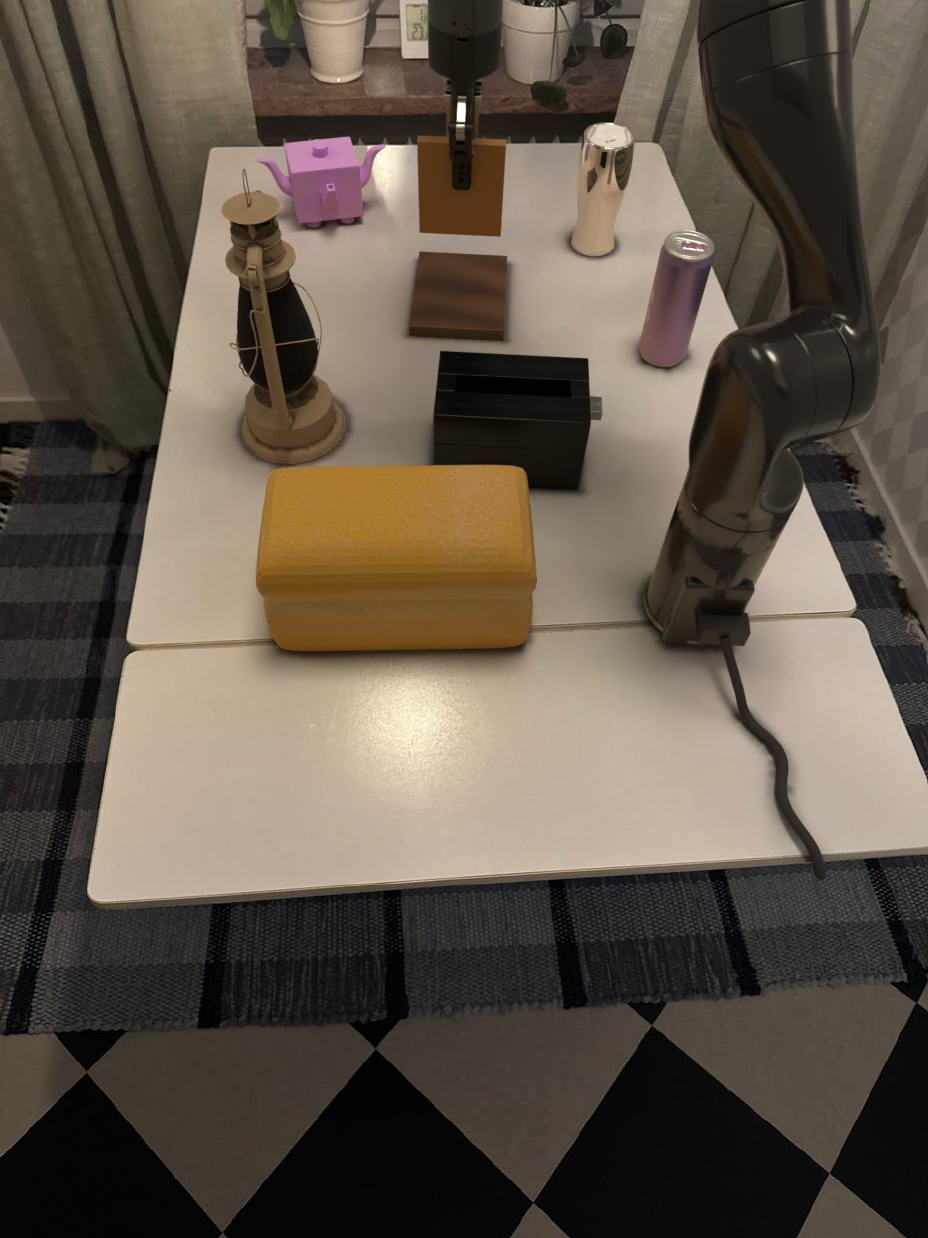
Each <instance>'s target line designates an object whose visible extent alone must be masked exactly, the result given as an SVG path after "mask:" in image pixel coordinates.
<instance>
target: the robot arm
mask: <svg viewBox="0 0 928 1238" xmlns="http://www.w3.org/2000/svg"><path fill="white" fill-rule="evenodd" d="M696 7H697V8H696V21H695V22H696V24H695V25H696V43H697V44H696V45H697V47H698V48H697V55H698V64H699V73H700V74H699V76H700V85H701V93H702V99H703V100H702V103H703V104H702V105H703V111H704V117H705V118H704V119H705V122H706V126H707V129H708V132H709V135H710V137H711V140H712V141H713V143H714V146H715V148H716V150H717V151H718V153H719V155H720V156H721V158H722V159H723V161H724V162H725V164H726V165H727V167H728V169H729V170H730V172H731V174H732V175H733V177H734V178H735V179H736V181H737V182H738V184H739V185H740V187H741V188H742V189H743V190H744V192H745V193H746V195H747V196H748V198H749V199H750V200H751V202H752V203H753V205H754V206H755V207H756V209H757V210H758V212H759V213H760V214H761V216H762V218H763V219H764V221H765V223H766V224H767V226H768V228H769V230H770V232H771V234H772V236H773V239H774V241H775V243H776V246H777V249H778V253H779V256H780V259H781V264H782V270H783V275H784V281H785V288H786V289H785V290H786V298H787V315H785V316H782V317H779V318H774V319H770V320H767V321H766V320H765V321H762V322H759V323H755V324H751V325H747V326H743V327H740V328H738V329H735V330H732V331H731V332H729V333H728V334H727V335H725V337H723V338H722V339H721V341H720V342H719V343H718V345H717V347H716V348H715V350H714V351H713V354H712V355H711V358H710V359H709V363H708V366H707V368H706V372H705V375H704V378H703V382H702V386H701V389H700V394H699V398H698V401H697V407H696V412H695V414H694V418H693V423H692V426H691V429H690V435H689V440H688V468H687V472H686V475H685V478H684V480H683V481H684V482H683V484H682V487H681V490H680V493H679V495H678V499H677V502H676V505H675V507H674V510H673V513H672V516H671V519H670V521H669V523H668V524H669V525H668V528H667V530H666V533H665V537H664V539H663V542H662V545H661V548H660V551H659V553H658V556H657V559H656V563H655V566H654V568H653V572H652V575H651V578H650V581H649V582H648V584H647V587H646V589H645V593H644V599H643V604H644V609H645V612H646V615H647V617H648V619H649V620H650V623H652V625H653V626H654V627H655V629H657V630H658V631H659V632H660V633H661V634H662V641H663V643H665V644H674V645H688V646H707V647H708V646H709V647H721V651H722V654H723V658H724V662H725V665H726V668H727V672H728V675H729V678H730V682H731V685H732V689H733V692H734V693H733V694H734V697H735V702H736V707H737V710H738V713H739V715H740V717H741V719H742V721H743V722H744V724H745V725H746V727H748V728H749V730H750V731H751V732H752V733H753V734H755V735H756V736H757V737H758V738H759V739H760V740H761V741H763V742H764V743H765V744H766V745H767V746H768V747H769V748H770V749H771V751H772V753H773V754H774V756H775V760H776V763H777V764H776V765H777V772H776V779H775V780H776V782H775V795H776V800H777V802H778V806H779V809H780V811H781V813H782V814H783V815H782V816H784V818H785V820H786V821H787V823H788V824H789V826H790V827H791V828H792V830H793V832H795V834H796V835H797V836H798V838H799V839H800V840H801V842H802V844H803V845H804V848H806V851H807V852H808V855H809V857H810V860H811V864H812V869H813V875H814V877H815V878H816V879H818V881H824V880H825V879H826V868H825V860H824V858H823V854H822V852H821V849H820V848H819V845H818V844H817V842H816V840H815V839H814V837H813V835H812V834H811V833H810V831H809V830H808V829H807V827H806V826H805V825H804V823H803V822H802V820H801V819H800V818H799V817H798V815H797V814H796V812H795V811H794V809H793V807H792V804H791V801H790V799H789V795H788V779H789V771H790V770H789V766H790V765H789V759H788V756H787V753H786V751H785V749H784V747H783V746H782V745H781V743H780V741H779V740H778V739H777V738H775V736H774V735H772V733H770V732H769V731H768V730H767V729H765V728H764V727H763V726H762V725H761V724H760V723H759V722H758V721H757V719H756V718H754V716H753V715H752V713H751V711H750V708H749V706H748V705H749V704H748V702H747V698H746V697H747V696H746V693H745V688H744V685H743V681H742V678H741V674H740V671H739V667H738V664H737V661H736V657H735V654H734V650H733V647H744V646H746V643H747V641H748V640H749V637H750V636H751V634H752V630H751V626H750V619H749V613H748V612H746V609H747V607H748V605H749V603H750V601H751V599H752V597H753V596H754V594H755V591H756V588H755V586H756V584H757V582H758V580H759V578H760V576H761V574H762V573H763V571H764V569H765V566H766V565H767V562H768V560H769V559H770V557H771V555H772V552H773V551H774V549H775V547H776V545H777V543H778V541H779V539H780V537H781V535H782V534H783V532H784V529H785V528H786V526H787V524H788V522H789V520H790V519H791V516H792V514H793V513H794V511H795V509H796V507H797V505H798V503H799V502H800V499H801V495H802V494H803V491H804V485H805V476H804V471H803V468H802V466H801V464H800V462H799V460H798V459H797V457H796V456H795V455H794V454H793V452H792V451H791V450H790V449H792V448H796V447H799V446H802V445H805V444H809V443H813V442H816V441H819V440H822V439H826V438H830V437H832V436H835V435H838V434H839V435H840V434H842V433H845V432H847V431H850V430H852V429H854V428H856V427H858V426H859V425H860V424H862V422H864V421H865V420H866V419H867V418H868V416H869V415H870V414H871V412H872V410H873V409H874V406H875V403H876V402H877V401H876V400H877V397H878V396H879V395H878V394H879V391H880V383H881V373H882V372H881V371H882V356H881V342H880V335H879V328H878V319H877V314H876V313H877V312H876V306H875V300H874V294H873V286H872V280H871V274H870V267H869V261H868V255H867V254H868V253H867V247H866V239H865V234H864V233H865V232H864V226H863V220H862V219H863V218H862V217H863V216H862V209H861V207H862V206H861V198H860V197H861V195H860V183H859V172H858V171H859V170H858V157H857V144H856V130H855V114H854V113H855V112H854V66H853V65H854V63H853V62H854V61H853V59H854V58H853V57H854V55H853V36H852V35H853V33H852V13H851V0H697V6H696ZM503 10H504V0H427V50H428V51H427V55H428V59H427V60H428V64H429V67H430V68H431V70H432V71H433V72H434V73H435V74H436V75H438V76H439V77H440V76H441V77H445V78H446V80H445V89H444V96H443V97H444V99H443V100H444V101H443V103H444V110H445V111H446V137H449V148H450V152H449V157H450V161H452V187H453V189H455V190H469V189H470V188H471V172H472V159H473V156H474V150H473V140H474V139H476V138H478V135H479V123H480V112H481V109H482V98H483V83H484V82H483V80H482V79H486V78H488V77H490V76H492V75H493V74H495V73H496V72H497V70H498V69H499V67H500V65H501V55H502V54H501V51H502V50H501V49H502V33H503V32H502V30H503V15H504V14H503V13H504V12H503ZM732 646H733V647H732Z"/></svg>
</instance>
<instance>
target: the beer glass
mask: <svg viewBox="0 0 928 1238" xmlns="http://www.w3.org/2000/svg"><path fill="white" fill-rule="evenodd" d="M581 142H582V143H581V147H580V151H579V156H578V163H577V172H576V200H577V203H576V204H577V217H576V224H575V227H574V230H573V233H572V235H571V240H570V244H571V247H572V248H573V249H574V251H576V252H577V253H579V254H581V255H583V256H587V257H603V256H605V255H608V254H610V253H611V252H612V251H613V249H614V247H615V226H616V220H617V218H618V214H619V211H620V209H621V205H622V203H623V201H624V198H625V195H626V192H627V189H628V186H629V183H630V178H631V173H632V169H633V161H634V153H635V152H634V151H635V143H636V134H635V133H634V131H633V130H632V129H630V128H629V127H628V126H625V125H623V124H620V123H615V122H598V123H594V124H591V125H589V126H588V127H587V128H586V129H584V132H583V138H582V141H581Z"/></svg>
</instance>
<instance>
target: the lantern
mask: <svg viewBox="0 0 928 1238" xmlns="http://www.w3.org/2000/svg"><path fill="white" fill-rule="evenodd" d="M241 173H242V185H243V190H244V192H241V193H238V194H235V195H232V196H231V197H229V198H227V199H226V200H225V201H224V202H223V204H222V205H221V209H220V211H221V214H222V216H223V218H225V219H226V220H228V221H229V224H230V227H229V231H230V242H231V243H232V247H231V248H230V249H229V250H227V252H226V255H225V257H224V262H225V266H226V268H227V269H228V271H229V272H230V274H233V275H235V276H236V277H237V278H238V283H239V286H238V295H237V313H236V315H237V317H236V319H237V320H236V335H235V337H236V339H235V343H234V342H230V343H229V347H230V348H231V349H233V350H236V351H237V354H238V358H239V362H238V369H239V370H241V372H242V376H243V377H245V378H247V377H248V378H249V379H250V380H251V381H252V382H253V384H252V385H251V386H250V388H249V389H248V392H247V393H246V395H245V397H244V398H245V399H244V401H245V402H244V410H245V414H246V415H245V416H244V418H243V419H242V423H241V433H240V434H241V437H242V439H243V441H244V444H245V446H246V448H247V449H249V451H251V453H253V454H254V455H255V456H256V457H258V458H259V459H263V460H266V461H268V462H270V463H273V464H282V465H283V464H286V465H297V464H302V463H308V462H313V461H314V460H316V459H319V458H321V457H323V456H325V455H328V454H329V453H330V452H331V451H332V450H333V449H334V448H336V446H337V445H339V444H340V442H341V440H342V438H343V436H344V434H345V432H346V416H345V414H344V412H343V411H342V409H341V407H340V405H339V404H338V403H336V401H334V399H333V392H332V390H331V389H330V387H329V385H328V384H327V382H325V380H323V379H322V378H320V377H319V376H318V375H316V374H315V372H316V371H317V366H318V361H319V356H320V351H321V347H322V346H321V345H322V338H323V327H322V321H321V318H320V313H319V311H318V308H317V306H316V303H315V302H314V300H313V298H312V296H311V294H310V293H309V291H308V290H307V289H306V288H305V287H304V286H303V285H301V284H299V283H297V282H294V281H293V280H292V278H291V274H290V273H291V272H290V270H291V268H292V267H293V266H294V265H295V262H296V259H297V256H296V252H295V249H294V248H293V246H292V244H290V243H288V242H287V241H285V240H283V239H282V236H283V234H282V230H281V229H280V224H279V221H278V219H277V215H278V213H279V211H280V207H281V205H280V204H281V203H280V202H279V200H278V199H277V198H276V197H274V196H273V195H271V194H269V193H266V192H263V191H262V190H260V189H256V190H253V191H250V187H249V182H248V175H247V171H246V169H245V168H242V171H241ZM245 182H246V183H245ZM246 188H247V190H246ZM296 286H298V287H300V288H301V289H303V290H304V292H305V293H306V295H307V296H308V297H309V299H310V300H311V302H312V304H313V307H314V309H315V312H316V314H317V318H318V322H319V328H320V336H319V337H320V338H318V337H316V333H315V329H314V327H313V324H312V321H311V318H310V315H309V314H308V311H307V309H306V307H305V304H304V302H303V300H302V298H301V295H300V293H299V291H298V289H297V287H296ZM232 345H233V346H232ZM234 346H236V347H234ZM241 365H242V366H241Z"/></svg>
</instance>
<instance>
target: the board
mask: <svg viewBox="0 0 928 1238" xmlns="http://www.w3.org/2000/svg"><path fill="white" fill-rule="evenodd" d="M507 271H508V255H499V254H498V255H497V254H479V253H478V254H477V253H461V252H460V253H459V252H456V253H455V252H439V251H438V252H437V251H419V252H418V259H417V267H416V273H415V280H414V288H413V295H412V300H411V301H412V302H411V309H410V317H409V323H408V331H409V332H408V333H409V336H413V337H429V338H430V337H432V338H450V339H451V338H454V339H470V340H489V341H490V340H491V341H504V339H505V319H506V318H505V317H506V297H507V295H506V293H507Z"/></svg>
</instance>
